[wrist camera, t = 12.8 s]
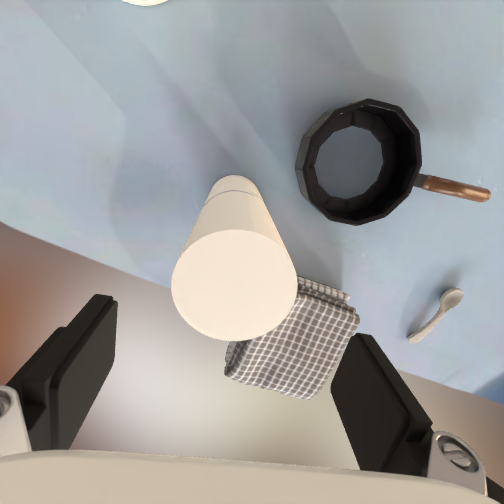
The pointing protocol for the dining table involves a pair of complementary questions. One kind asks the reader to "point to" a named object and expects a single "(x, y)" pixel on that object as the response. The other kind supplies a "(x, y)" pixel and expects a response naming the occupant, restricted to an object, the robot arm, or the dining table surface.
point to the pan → (392, 172)
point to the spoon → (438, 313)
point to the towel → (297, 344)
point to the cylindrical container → (234, 266)
